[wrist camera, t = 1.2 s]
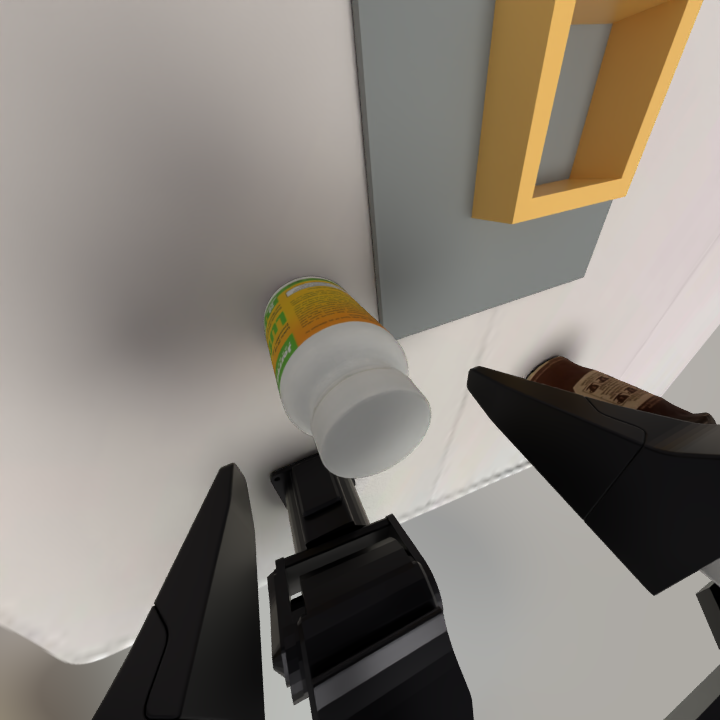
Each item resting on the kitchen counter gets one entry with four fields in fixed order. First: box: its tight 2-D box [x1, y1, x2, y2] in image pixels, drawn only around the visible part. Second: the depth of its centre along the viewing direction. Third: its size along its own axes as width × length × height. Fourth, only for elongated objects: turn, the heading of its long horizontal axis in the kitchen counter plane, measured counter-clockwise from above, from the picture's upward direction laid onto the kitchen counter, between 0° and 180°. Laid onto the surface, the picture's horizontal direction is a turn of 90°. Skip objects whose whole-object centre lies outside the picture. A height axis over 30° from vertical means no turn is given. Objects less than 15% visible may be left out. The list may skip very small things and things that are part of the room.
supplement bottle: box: [264, 276, 431, 478], centre depth 13 cm, size 5×5×10 cm
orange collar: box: [471, 0, 703, 224], centre depth 14 cm, size 8×8×3 cm
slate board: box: [352, 0, 613, 340], centre depth 16 cm, size 16×19×1 cm
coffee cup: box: [527, 356, 716, 424], centre depth 26 cm, size 9×8×13 cm
